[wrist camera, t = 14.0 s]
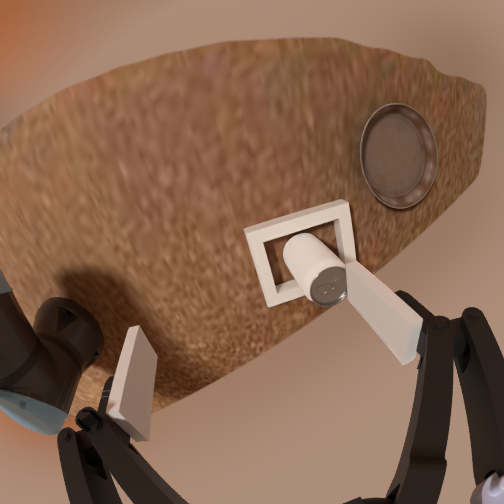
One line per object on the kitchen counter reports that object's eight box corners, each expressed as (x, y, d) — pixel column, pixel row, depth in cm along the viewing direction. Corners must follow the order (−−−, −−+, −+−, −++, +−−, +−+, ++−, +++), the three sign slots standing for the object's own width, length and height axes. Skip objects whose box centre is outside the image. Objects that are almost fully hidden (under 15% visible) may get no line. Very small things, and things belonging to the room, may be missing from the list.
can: (324, 260, 44) (357, 297, 33) (289, 275, 44) (313, 317, 33) (314, 225, 42) (349, 255, 31) (276, 241, 42) (300, 276, 31)
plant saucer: (434, 127, 38) (445, 128, 35) (415, 214, 44) (425, 218, 41) (361, 88, 34) (371, 85, 32) (339, 190, 40) (348, 194, 38)
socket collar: (265, 299, 45) (268, 307, 43) (243, 228, 40) (245, 233, 38) (351, 269, 46) (357, 275, 44) (341, 198, 41) (348, 202, 38)
